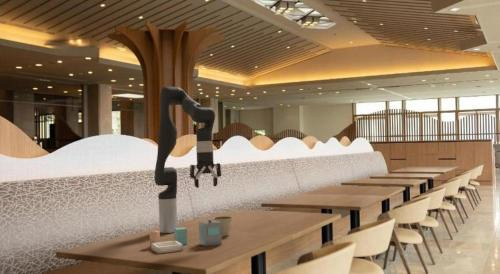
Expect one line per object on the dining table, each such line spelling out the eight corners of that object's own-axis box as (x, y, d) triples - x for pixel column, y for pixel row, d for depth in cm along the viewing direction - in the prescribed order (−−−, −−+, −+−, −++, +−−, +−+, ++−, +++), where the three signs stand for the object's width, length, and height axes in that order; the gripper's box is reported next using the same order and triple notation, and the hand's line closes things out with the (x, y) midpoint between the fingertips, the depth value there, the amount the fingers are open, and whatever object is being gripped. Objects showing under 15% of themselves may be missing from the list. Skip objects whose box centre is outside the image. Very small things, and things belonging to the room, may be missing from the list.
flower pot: (215, 237, 246) (215, 219, 246) (211, 234, 255) (211, 217, 255) (234, 236, 248) (234, 218, 248) (230, 233, 257) (229, 215, 257)
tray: (151, 248, 225) (151, 243, 225) (175, 245, 229) (175, 240, 229) (158, 253, 215) (157, 247, 215) (183, 250, 219) (183, 244, 219)
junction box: (199, 244, 232) (198, 220, 232) (216, 241, 235) (215, 218, 235) (205, 246, 225) (204, 222, 225) (222, 244, 229) (221, 220, 229)
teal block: (174, 243, 235) (174, 228, 235) (184, 242, 237) (183, 227, 237) (177, 245, 231) (177, 229, 231) (187, 244, 233) (186, 228, 233)
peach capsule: (148, 246, 230) (148, 231, 230) (158, 245, 232) (158, 229, 232) (151, 248, 226) (150, 232, 226) (161, 247, 228) (160, 231, 228)
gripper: (216, 150, 240) (217, 185, 240) (187, 151, 234) (188, 187, 234) (222, 150, 233) (223, 186, 233) (192, 151, 227) (193, 188, 227)
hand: (206, 186), depth 234 cm, fingers open, 8 cm apart
